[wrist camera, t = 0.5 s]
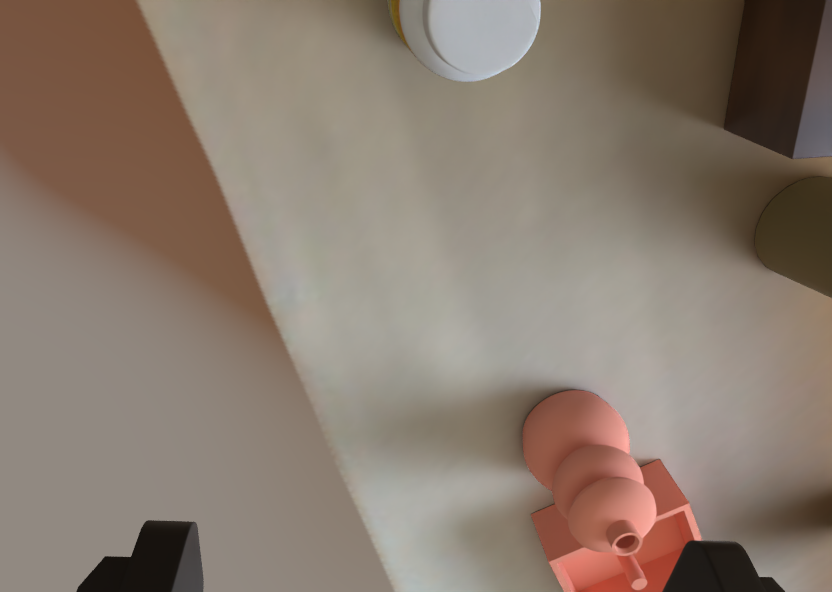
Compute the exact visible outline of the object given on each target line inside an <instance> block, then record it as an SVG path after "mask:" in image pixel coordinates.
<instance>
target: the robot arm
mask: <svg viewBox="0 0 832 592" xmlns="http://www.w3.org/2000/svg"><path fill="white" fill-rule="evenodd" d="M77 592H203V571H202V562H201V554H200V546H199V536H198V528H197V524H196V523H195V522H182V521H146V522H145V523H144V525H143V527H142V529H141V531H140V533H139V537H138V539H137V542H136V545H135V548H134V550H133V553H132V556H131V557H108V556H107V557H104V558H103V560H102V561H101V562H100V563H99V564H98V565H97V567H96V568H95V569H94V570H93V571H92V572H91V573H90V574H89V575H88V577H87V578H86V579H85V580H84V581H83V582H82V584H81V585H80V586H79V587H78V589H77ZM662 592H785V591H784V590H783V589H782V588H781V587H780V586H779V585H778V584H777V583H776V581H775V580H774V579H773V578H772V577H759V576H758V574H757V572H756V570H755V568H754V566H753V564H752V562H751V560H750V558H749V556H748V554H747V553H746V551H745V550H744V548H743V547H742V546H741V545H740V544H738V543H737V542H730V541H700V540H691V541H689V542H687V543H686V545H685V546H684V548H683V550H682V552H681V554H680V557H679V559H678V561H677V563H676V565H675V567H674V569H673V571H672V573H671V575H670V577H669V579H668V581H667V583H666V585H665V587H664V589H663V591H662Z"/></svg>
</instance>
